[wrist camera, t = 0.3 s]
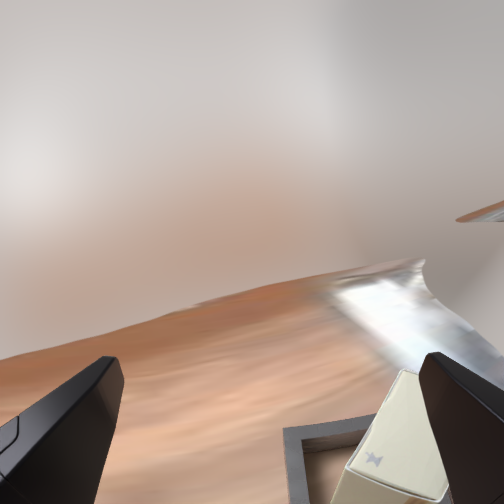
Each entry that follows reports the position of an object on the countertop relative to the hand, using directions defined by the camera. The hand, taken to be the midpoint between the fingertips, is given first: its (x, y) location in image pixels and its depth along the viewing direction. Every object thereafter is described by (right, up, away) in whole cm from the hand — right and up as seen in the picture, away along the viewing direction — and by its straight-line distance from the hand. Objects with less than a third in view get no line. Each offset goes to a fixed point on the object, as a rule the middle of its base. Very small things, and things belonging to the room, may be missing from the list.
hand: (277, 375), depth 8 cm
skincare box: (+7, -15, +7) cm, 18 cm away
